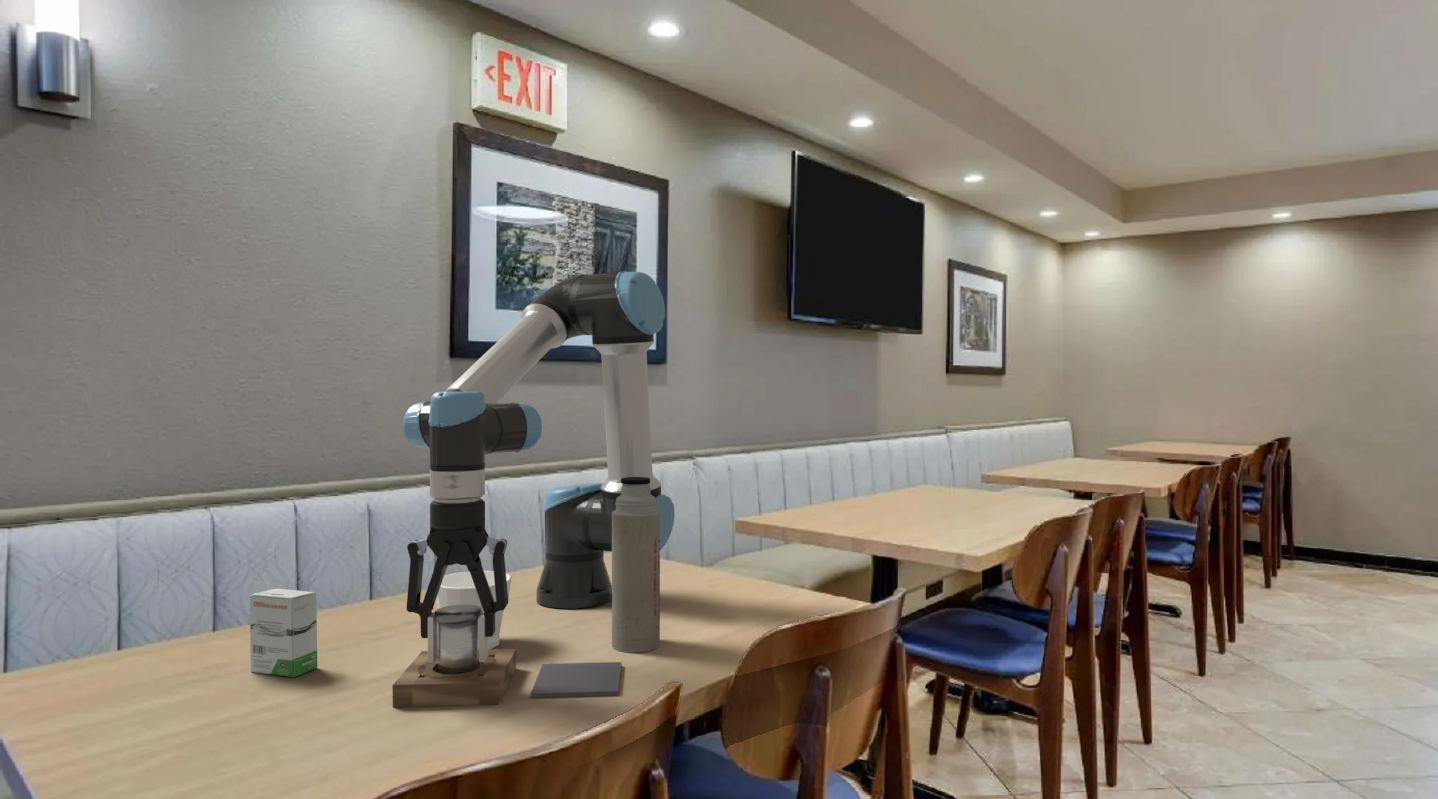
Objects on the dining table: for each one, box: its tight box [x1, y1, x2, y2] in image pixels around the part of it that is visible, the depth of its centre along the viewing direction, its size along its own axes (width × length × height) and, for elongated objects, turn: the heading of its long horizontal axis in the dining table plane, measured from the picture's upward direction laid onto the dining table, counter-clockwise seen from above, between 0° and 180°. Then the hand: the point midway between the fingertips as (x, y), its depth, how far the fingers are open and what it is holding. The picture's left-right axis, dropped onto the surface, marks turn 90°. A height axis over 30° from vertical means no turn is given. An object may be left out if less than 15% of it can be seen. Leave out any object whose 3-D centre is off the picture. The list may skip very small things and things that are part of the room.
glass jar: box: [434, 604, 481, 674], centre depth 117 cm, size 6×6×11 cm
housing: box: [392, 648, 517, 708], centre depth 117 cm, size 14×14×3 cm
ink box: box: [249, 587, 318, 678], centre depth 124 cm, size 9×5×12 cm, turn 71°
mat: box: [530, 661, 622, 699], centre depth 120 cm, size 12×12×1 cm
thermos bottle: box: [611, 477, 661, 653], centre depth 136 cm, size 8×8×28 cm
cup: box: [435, 570, 512, 650], centre depth 136 cm, size 12×12×11 cm
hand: (458, 659), depth 117 cm, fingers closed on glass jar, 6 cm apart
